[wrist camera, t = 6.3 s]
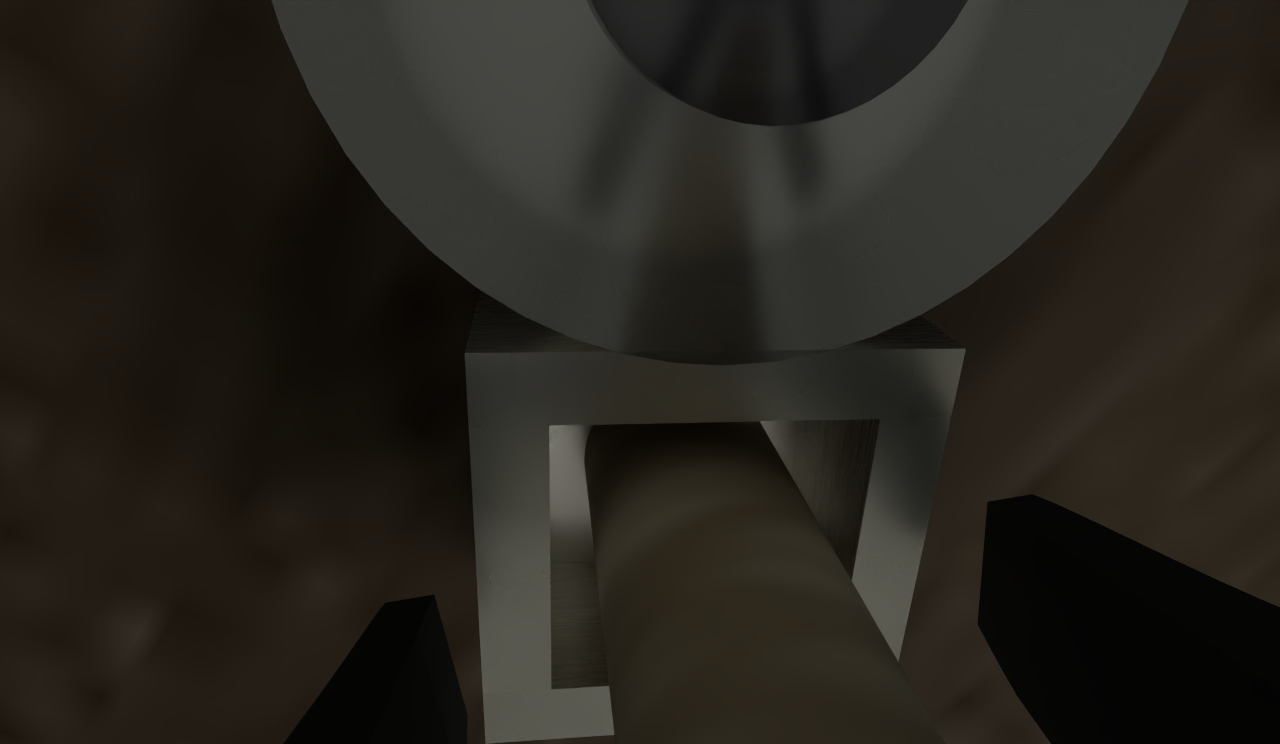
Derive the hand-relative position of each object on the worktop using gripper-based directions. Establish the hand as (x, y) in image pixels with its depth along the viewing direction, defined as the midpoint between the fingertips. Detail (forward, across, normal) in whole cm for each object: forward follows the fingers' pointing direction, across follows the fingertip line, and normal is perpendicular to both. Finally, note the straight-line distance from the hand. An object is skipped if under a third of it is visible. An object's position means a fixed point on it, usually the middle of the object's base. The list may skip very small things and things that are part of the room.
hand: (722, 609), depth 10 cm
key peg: (+4, 0, 0) cm, 4 cm away
